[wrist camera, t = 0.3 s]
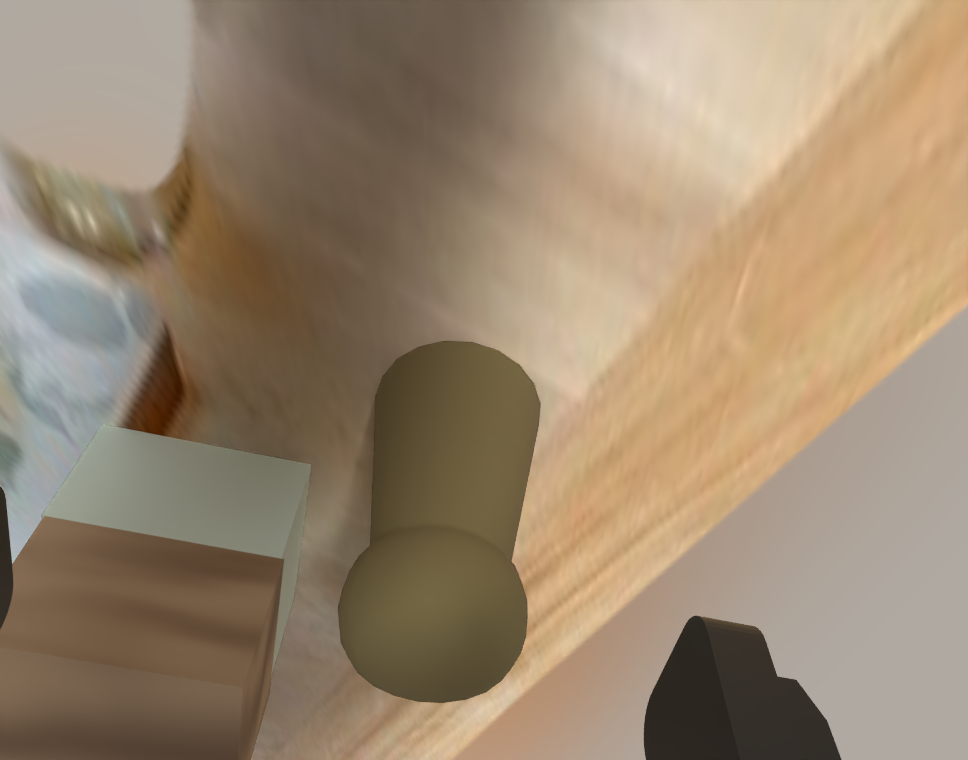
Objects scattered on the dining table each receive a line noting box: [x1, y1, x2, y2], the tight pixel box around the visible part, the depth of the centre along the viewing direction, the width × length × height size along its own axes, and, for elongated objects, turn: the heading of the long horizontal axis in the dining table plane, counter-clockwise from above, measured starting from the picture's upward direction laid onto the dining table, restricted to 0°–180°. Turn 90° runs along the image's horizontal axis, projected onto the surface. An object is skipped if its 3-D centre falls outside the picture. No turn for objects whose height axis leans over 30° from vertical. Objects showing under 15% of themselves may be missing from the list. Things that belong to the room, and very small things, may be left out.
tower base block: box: [42, 424, 312, 676], centre depth 33 cm, size 8×8×5 cm
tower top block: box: [0, 516, 284, 760], centre depth 29 cm, size 8×8×5 cm
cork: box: [338, 341, 540, 703], centre depth 26 cm, size 6×6×11 cm
